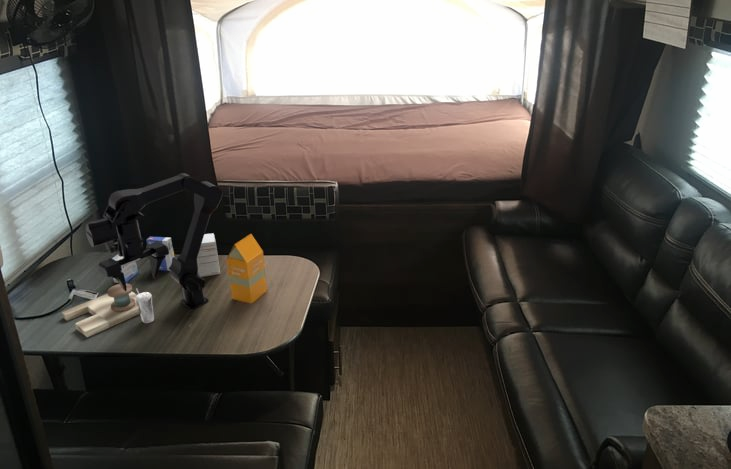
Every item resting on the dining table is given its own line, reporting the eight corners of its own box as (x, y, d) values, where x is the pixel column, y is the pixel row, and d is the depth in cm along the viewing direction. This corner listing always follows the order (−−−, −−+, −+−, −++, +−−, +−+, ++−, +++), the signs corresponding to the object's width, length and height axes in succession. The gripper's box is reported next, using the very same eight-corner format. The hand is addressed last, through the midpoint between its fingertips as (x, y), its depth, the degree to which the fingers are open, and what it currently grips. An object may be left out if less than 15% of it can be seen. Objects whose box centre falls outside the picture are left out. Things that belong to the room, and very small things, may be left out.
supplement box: (197, 268, 199) (192, 235, 194) (219, 264, 201) (214, 232, 196) (198, 277, 193) (193, 244, 188) (220, 274, 195) (215, 241, 189)
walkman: (152, 269, 199) (145, 238, 194) (155, 266, 201) (149, 235, 196) (173, 271, 197) (167, 240, 192) (176, 267, 200) (171, 236, 195)
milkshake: (149, 313, 173) (143, 285, 168) (159, 319, 169) (153, 290, 165) (135, 320, 169) (129, 291, 165) (145, 326, 166) (139, 297, 162)
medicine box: (125, 284, 190) (120, 261, 186) (113, 282, 191) (108, 260, 187) (138, 272, 197) (134, 250, 193) (127, 271, 198) (122, 249, 194)
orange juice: (267, 290, 184) (261, 235, 176) (251, 303, 177) (244, 246, 168) (247, 286, 187) (241, 231, 179) (231, 298, 180) (223, 242, 171)
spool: (139, 304, 174) (136, 288, 171) (118, 314, 169) (114, 297, 166) (128, 297, 178) (125, 281, 175) (107, 306, 173) (103, 290, 171)
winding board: (151, 308, 175) (149, 303, 174) (87, 337, 162) (85, 331, 161) (125, 291, 185) (124, 286, 184) (63, 317, 171) (61, 312, 170)
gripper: (145, 218, 169) (154, 264, 176) (83, 239, 156) (95, 288, 163) (165, 227, 162) (174, 275, 169) (102, 250, 150) (114, 301, 156)
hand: (140, 284), depth 164 cm, fingers open, 9 cm apart
